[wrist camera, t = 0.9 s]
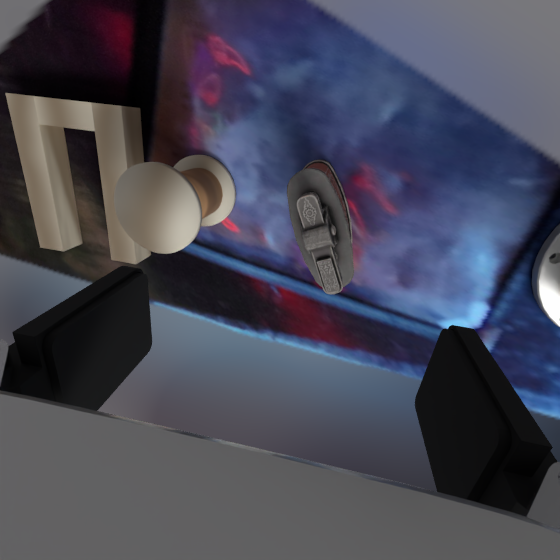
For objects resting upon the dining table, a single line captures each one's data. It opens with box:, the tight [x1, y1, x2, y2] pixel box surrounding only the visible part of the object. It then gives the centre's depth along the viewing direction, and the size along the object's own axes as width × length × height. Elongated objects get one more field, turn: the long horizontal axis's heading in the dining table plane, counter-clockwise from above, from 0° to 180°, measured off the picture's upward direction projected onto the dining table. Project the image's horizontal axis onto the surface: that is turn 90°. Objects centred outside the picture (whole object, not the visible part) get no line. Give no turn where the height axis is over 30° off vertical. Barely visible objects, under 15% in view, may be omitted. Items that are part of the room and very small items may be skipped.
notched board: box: [6, 93, 151, 264], centre depth 29 cm, size 10×13×2 cm
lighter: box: [287, 159, 354, 294], centre depth 23 cm, size 8×3×10 cm, turn 19°
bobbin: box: [114, 155, 236, 254], centre depth 25 cm, size 6×6×8 cm
